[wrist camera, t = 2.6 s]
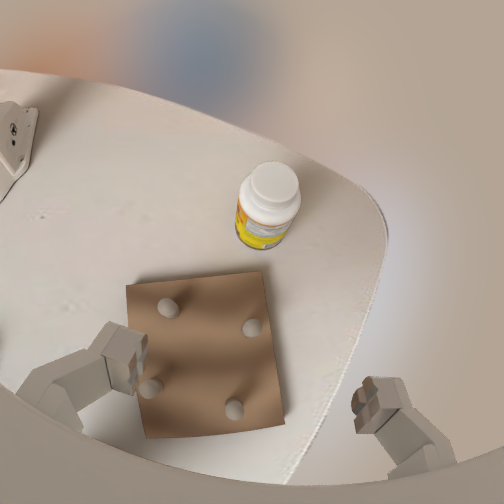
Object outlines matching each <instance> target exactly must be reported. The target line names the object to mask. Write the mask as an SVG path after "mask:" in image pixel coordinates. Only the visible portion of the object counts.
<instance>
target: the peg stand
mask: <svg viewBox="0 0 504 504" xmlns="http://www.w3.org/2000/svg"><path fill="white" fill-rule="evenodd" d="M126 298H127V314H128V326H129V328H130V329H133V330H136V331H139V332H142V333H145V334H147V335H148V343H147V345H146V348H147V349H148V353H149V355H148V362H147V365H146V369H145V371H144V373H143V374H142V375H140V376H139V384H138V386H137V389H136V390H137V396H138V401H139V407H140V412H141V417H142V422H143V426H144V431H145V435H146V438H181V437H198V436H210V435H220V434H229V433H237V432H244V431H251V430H257V429H263V428H268V427H274V426H279V425H284V424H285V421H284V414H283V407H282V401H281V394H280V387H279V381H278V374H277V368H276V361H275V355H274V348H273V342H272V335H271V329H270V323H269V316H268V310H267V303H266V297H265V291H264V284H263V278H262V272H261V271H255V272H247V273H238V274H229V275H220V276H211V277H202V278H192V279H183V280H173V281H163V282H153V283H143V284H132V285H126Z"/></svg>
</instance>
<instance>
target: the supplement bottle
mask: <svg viewBox="0 0 504 504" xmlns="http://www.w3.org/2000/svg"><path fill="white" fill-rule="evenodd" d="M300 204H301V193H300V190H299V181H298V177H297V175H296V174H295V172H294V171H293V170H292V169H291V168H290V167H289V166H287V165H285V164H283V163H280V162H275V161H269V162H265V163H262V164H260V165H258V166H257V167H256V168H255V169H254V171H253V173H251V174H249V175H248V176H247V177H246V178H245V179H244V181H243V182H242V184H241V186H240V190H239V197H238V205H237V214H236V222H235V229H236V233H237V236H238V238H239V239H240V241H241V242H242V243H243V244H244V245H245V246H247V247H249V248H251V249H253V250H258V251H264V250H269V249H272V248H273V247H275V246H276V245H278V244H279V243H280V241H281V240H282V238H283V237H284V235H285V233H286V232H287V230H288V228H289V227H290V225H291V223H292V221H293V220H294V218H295V216H296V214H297V212H298V210H299V208H300Z"/></svg>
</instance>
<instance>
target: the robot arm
mask: <svg viewBox="0 0 504 504" xmlns="http://www.w3.org/2000/svg"><path fill="white" fill-rule="evenodd" d="M38 113H39V111H38V110H37V109H36V108H33V107H32V108H25V109H21V107H20V106H19V105H18V104H17V103H15V102H13V101H7V102H3V103H0V202H1V200H2V199H3V198H4V196H5V195H6V194H7V192H8V191H9V189H10V188H11V186H12V185H13V183H14V182H15V181H16V180H17V179H18V178H19V177H20V176H21V175H22V174H23V173H24V172H25V171H26V170H27V169H28V166H29V161H30V154H31V148H32V142H33V137H34V132H35V127H36V122H37V118H38ZM147 343H148V335H147V334H145V333H142V332H139V331H136V330H133V329H130V328H128V327H125V326H122V325H119V324H116V323H113V322H111V321H109V322H107V323H106V324H105V325H104V327H103V328H102V330H101V331H100V332H99V334H98V335H97V337H96V338H95V339H94V341H93V342H92V344H91V345H90V347H89V348H88V350H86V349H82V350H79V351H77V352H75V353H72V354H70V355H67V356H65V357H62V358H60V359H58V360H55V361H53V362H50V363H48V364H45V365H43V366H40V367H38V368H35V369H33V370H32V371H31V373H30V374H29V376H28V377H27V378H26V380H25V381H24V382H23V384H22V385H21V387H20V388H19V390H18V391H17V392H16V394H14V393H13V392H11V391H10V390H9V389H7V388H6V387H4V386H3V385H2V384H0V504H504V446H502V447H500V448H497V449H495V450H493V451H490V452H488V453H485V454H483V455H480V456H478V457H475V458H472V459H469V460H466V461H463V462H460V463H457V461H456V459H455V455H454V452H453V449H452V446H451V443H450V440H449V439H448V438H447V437H446V436H445V435H444V434H443V433H442V432H440V431H439V430H438V429H437V428H436V427H435V426H434V425H433V424H432V423H431V422H430V421H429V420H428V419H427V418H425V417H424V416H423V415H422V414H421V413H420V412H419V411H418V410H417V409H416V408H413V407H412V404H411V402H410V399H409V396H408V393H407V390H406V388H405V385H404V383H403V380H402V379H401V378H392V377H390V378H389V377H374V376H368V377H366V378H365V379H364V381H363V382H362V384H363V386H362V387H360V388H358V389H357V390H356V392H355V393H354V394H353V398H352V401H351V407H352V411H353V413H354V414H355V415H356V418H355V419H354V423H355V429H356V433H357V434H374V435H375V437H376V438H377V439H378V441H379V442H380V443H381V445H382V446H383V447H384V449H385V450H386V451H387V453H388V454H389V455H390V457H391V458H392V459H393V461H394V462H395V463H396V465H397V466H396V467H395V468H394V469H392V470H391V471H389V473H388V480H382V481H374V482H366V483H355V484H342V485H281V484H267V483H256V482H247V481H240V480H233V479H226V478H220V477H215V476H210V475H205V474H200V473H195V472H191V471H187V470H183V469H179V468H175V467H171V466H168V465H164V464H161V463H157V462H154V461H151V460H148V459H145V458H142V457H139V456H136V455H133V454H130V453H128V452H125V451H122V450H120V449H117V448H115V447H112V446H110V445H107V444H105V443H102V442H100V441H98V440H96V439H93V438H91V437H89V436H87V435H85V434H83V433H81V432H82V429H83V424H82V422H81V420H80V418H79V416H78V414H77V412H78V411H80V410H81V409H83V408H85V407H86V406H88V405H89V404H91V403H92V402H94V401H96V400H97V399H99V398H100V397H102V396H103V395H105V394H106V393H108V392H109V391H111V390H112V389H114V390H116V391H119V392H122V393H125V394H128V395H131V396H133V395H134V393H135V391H136V389H137V386H138V384H139V376H140V375H142V374H143V373H144V371H145V369H146V365H147V362H148V355H149V353H148V349H147V348H146V345H147Z"/></svg>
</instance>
